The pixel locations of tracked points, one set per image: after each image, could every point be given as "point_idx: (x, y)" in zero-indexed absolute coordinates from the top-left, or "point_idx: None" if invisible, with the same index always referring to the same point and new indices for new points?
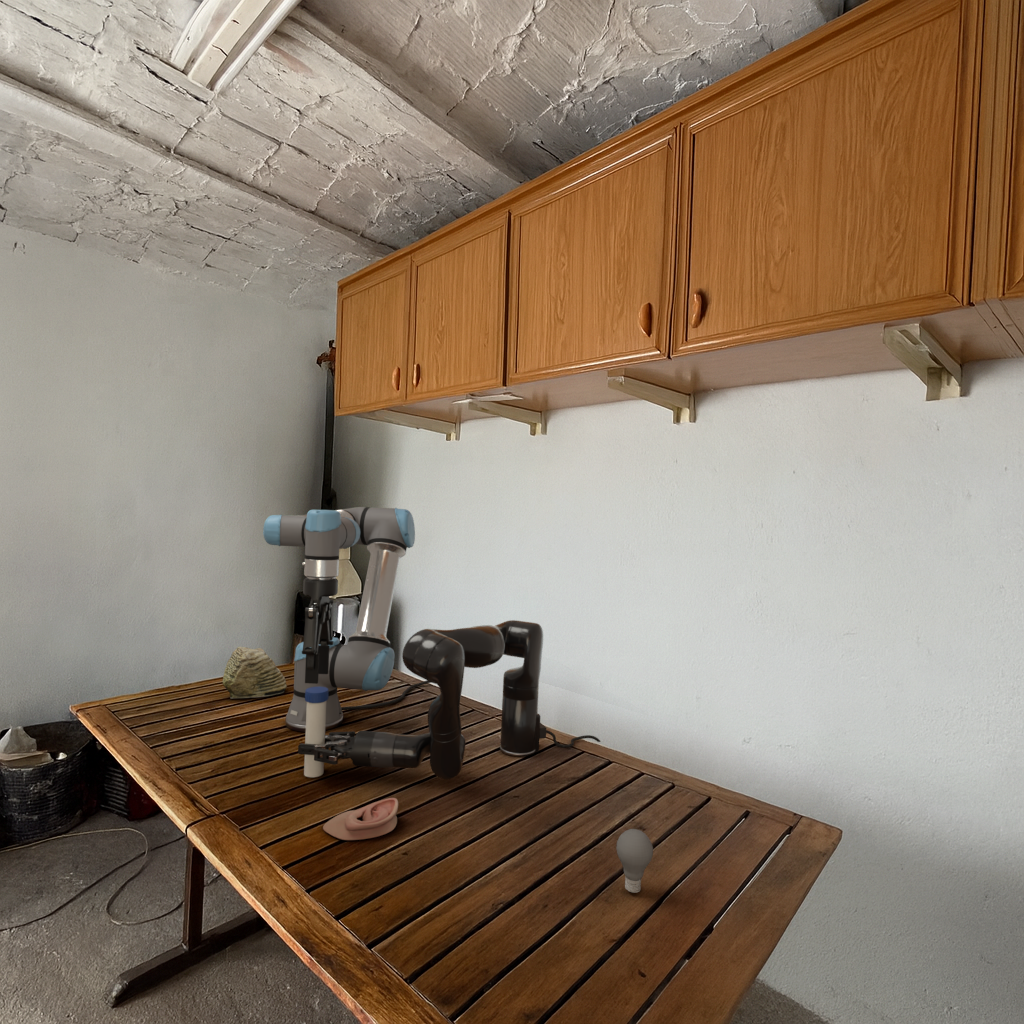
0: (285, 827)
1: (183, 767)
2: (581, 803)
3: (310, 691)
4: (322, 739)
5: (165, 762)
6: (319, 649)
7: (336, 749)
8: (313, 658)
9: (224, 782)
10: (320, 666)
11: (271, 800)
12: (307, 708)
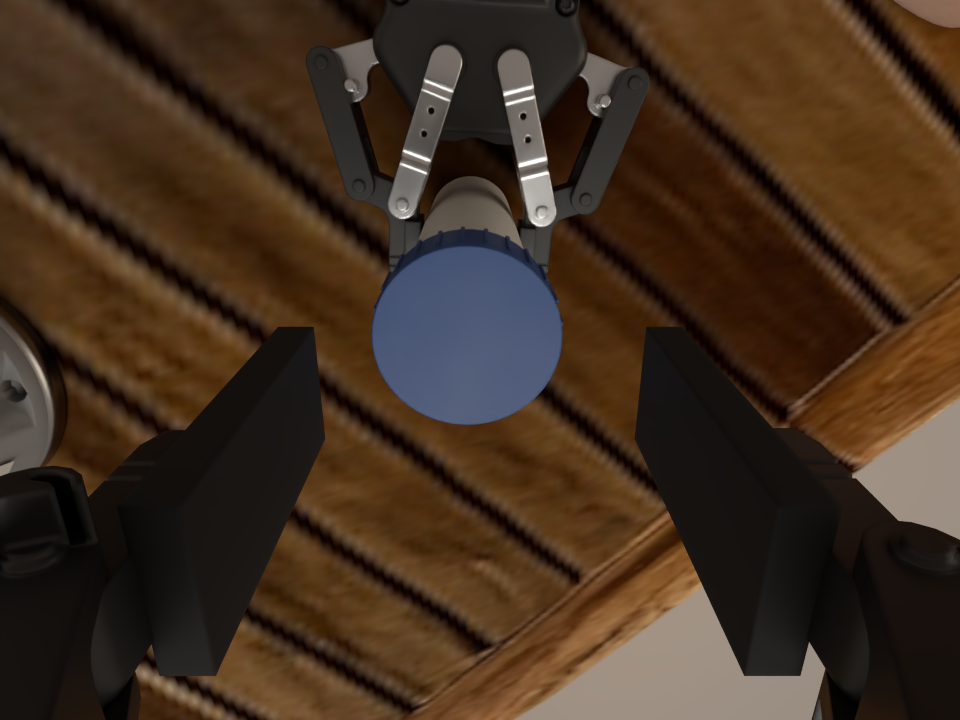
0: (913, 179)
1: (468, 638)
2: None
3: (522, 376)
4: (490, 202)
5: (439, 693)
6: (229, 596)
7: (561, 97)
8: (894, 519)
9: (568, 492)
10: (301, 435)
11: (704, 298)
12: None
